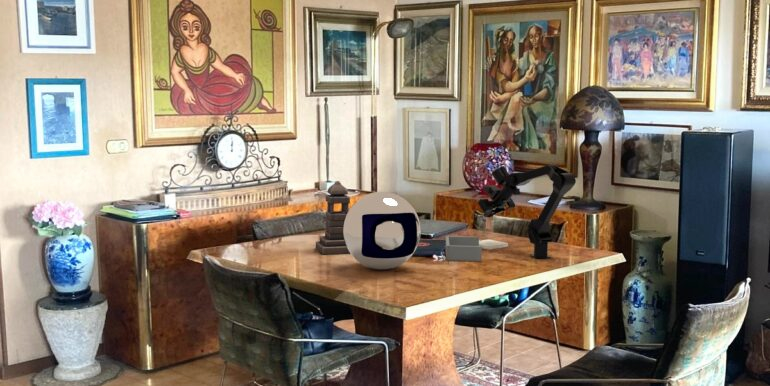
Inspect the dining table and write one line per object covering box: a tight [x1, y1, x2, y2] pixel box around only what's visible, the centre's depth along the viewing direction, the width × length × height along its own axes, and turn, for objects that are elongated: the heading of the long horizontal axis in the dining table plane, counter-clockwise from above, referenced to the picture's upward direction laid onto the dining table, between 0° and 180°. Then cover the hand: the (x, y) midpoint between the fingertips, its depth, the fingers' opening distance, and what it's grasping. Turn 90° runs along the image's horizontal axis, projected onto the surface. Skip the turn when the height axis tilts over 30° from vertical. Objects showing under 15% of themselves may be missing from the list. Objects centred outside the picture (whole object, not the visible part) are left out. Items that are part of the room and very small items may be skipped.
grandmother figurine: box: [483, 213, 495, 233], centre depth 394 cm, size 8×4×13 cm, turn 37°
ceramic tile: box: [479, 239, 509, 250], centre depth 396 cm, size 12×12×2 cm
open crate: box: [445, 235, 483, 262], centre depth 374 cm, size 14×23×6 cm, turn 177°
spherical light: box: [343, 191, 422, 271], centre depth 344 cm, size 30×29×30 cm
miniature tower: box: [315, 180, 351, 256], centre depth 379 cm, size 16×15×30 cm
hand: (486, 216), depth 395 cm, fingers closed on grandmother figurine, 2 cm apart
